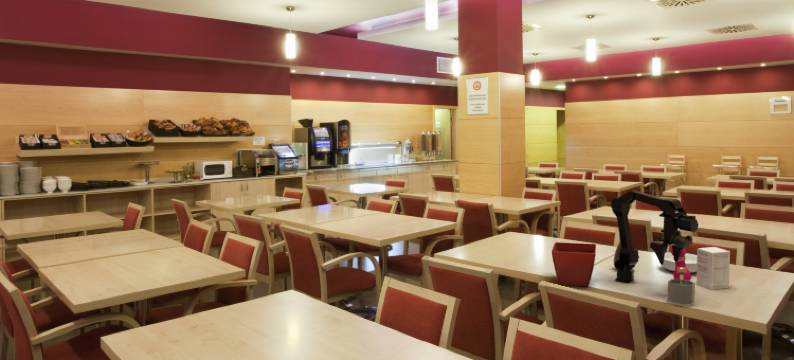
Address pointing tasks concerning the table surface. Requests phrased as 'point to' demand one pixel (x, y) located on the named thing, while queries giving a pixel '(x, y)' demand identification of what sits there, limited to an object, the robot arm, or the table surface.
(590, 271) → the plant pot
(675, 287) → the grey rounded cube
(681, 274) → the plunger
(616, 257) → the pump dispenser
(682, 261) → the pepper mill
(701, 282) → the supplement box
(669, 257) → the serving bowl
